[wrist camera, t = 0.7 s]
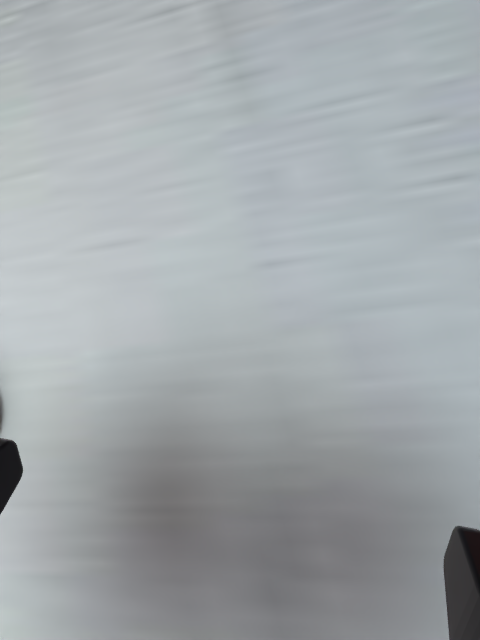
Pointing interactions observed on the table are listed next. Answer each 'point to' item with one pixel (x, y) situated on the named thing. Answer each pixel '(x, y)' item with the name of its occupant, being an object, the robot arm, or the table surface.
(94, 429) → the table surface
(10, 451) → the robot arm
